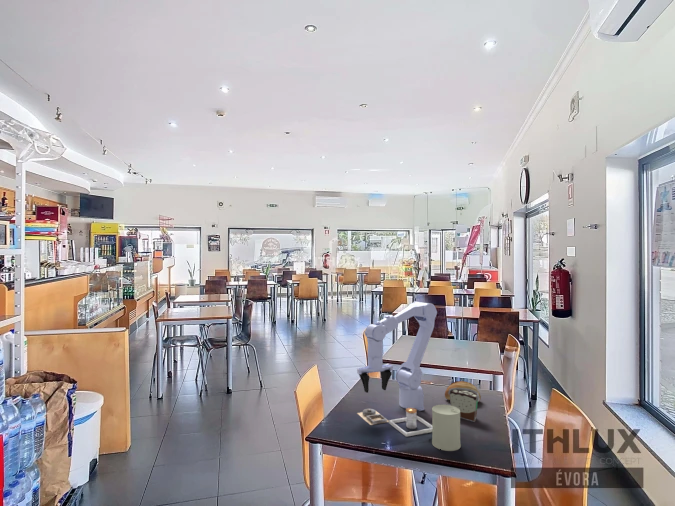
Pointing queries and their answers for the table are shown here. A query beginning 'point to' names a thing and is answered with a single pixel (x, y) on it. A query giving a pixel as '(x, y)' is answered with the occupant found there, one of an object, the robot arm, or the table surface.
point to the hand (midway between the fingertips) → (375, 390)
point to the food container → (465, 402)
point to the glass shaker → (411, 418)
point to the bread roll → (461, 385)
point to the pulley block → (372, 417)
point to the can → (446, 427)
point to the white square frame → (413, 431)
